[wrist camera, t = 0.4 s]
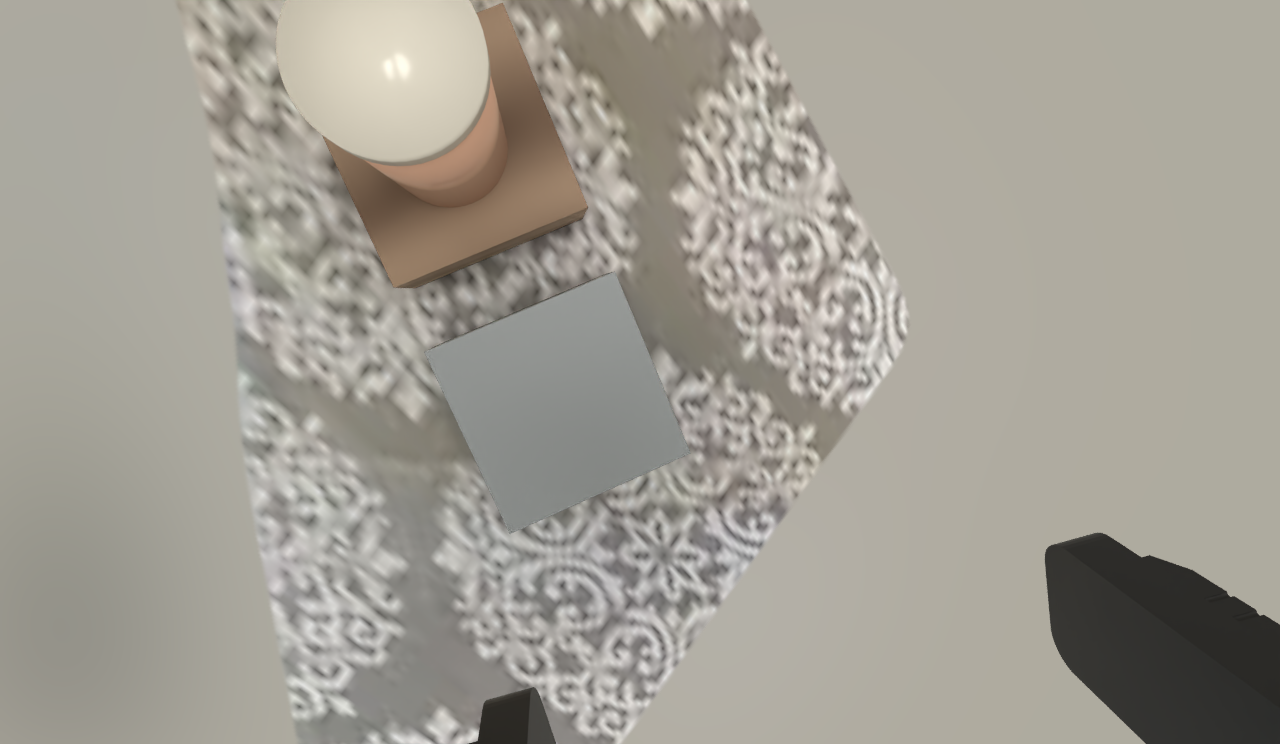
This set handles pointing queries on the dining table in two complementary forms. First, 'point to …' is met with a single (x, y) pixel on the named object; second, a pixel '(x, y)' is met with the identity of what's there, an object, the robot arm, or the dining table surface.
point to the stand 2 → (559, 401)
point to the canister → (399, 90)
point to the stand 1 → (506, 217)
